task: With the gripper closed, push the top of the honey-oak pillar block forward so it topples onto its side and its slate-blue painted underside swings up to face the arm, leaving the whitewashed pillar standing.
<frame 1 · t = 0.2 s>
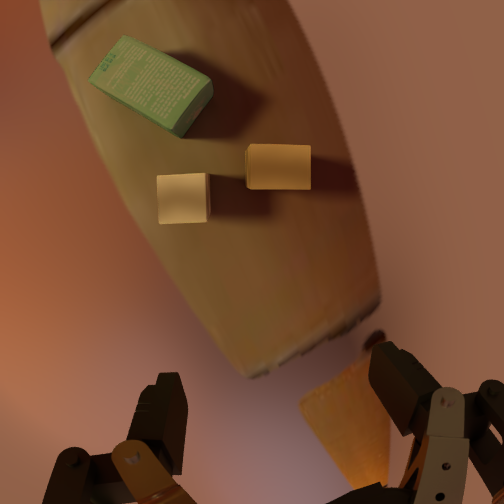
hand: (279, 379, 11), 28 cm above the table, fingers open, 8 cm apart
box: (159, 94, 33), on the table
oak pillar: (268, 169, 36), on the table
birch pillar: (190, 194, 36), on the table
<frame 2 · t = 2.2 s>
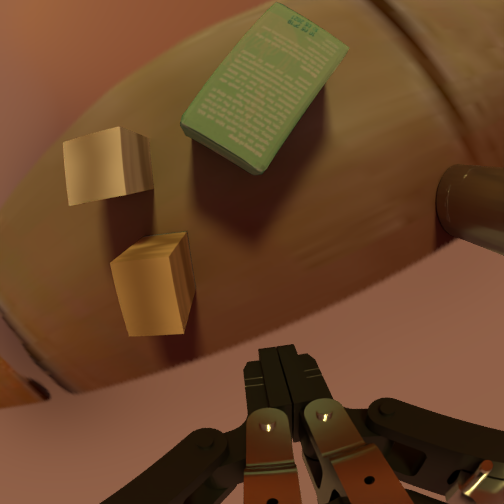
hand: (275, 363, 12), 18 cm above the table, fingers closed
box: (258, 101, 25), on the table
oak pillar: (169, 262, 28), on the table
birch pillar: (127, 167, 26), on the table
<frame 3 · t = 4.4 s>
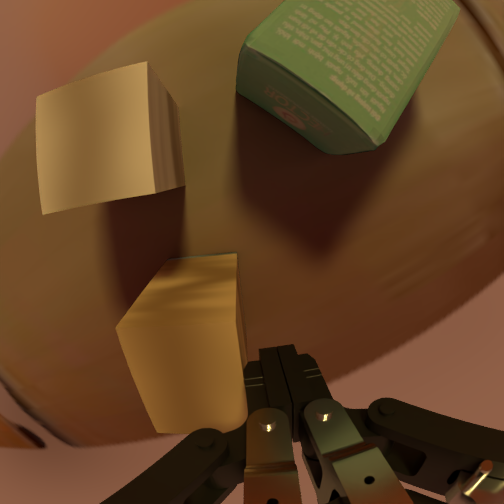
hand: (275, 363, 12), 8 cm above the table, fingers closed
box: (330, 58, 16), on the table
oak pillar: (208, 298, 19), on the table, touching gripper
birch pillar: (142, 152, 16), on the table
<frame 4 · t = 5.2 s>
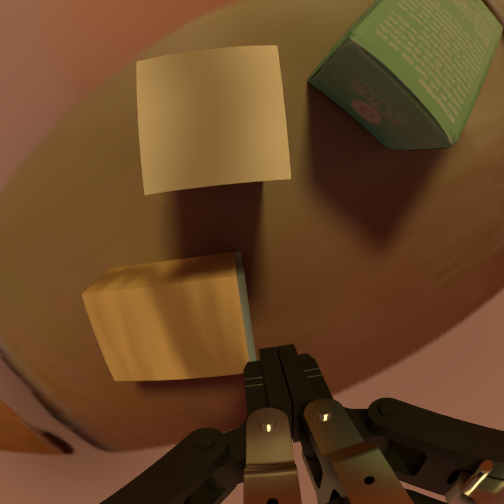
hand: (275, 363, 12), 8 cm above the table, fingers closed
box: (387, 60, 16), on the table
oak pillar: (248, 309, 17), point 2 cm above the table, tilted 90°
birch pillar: (218, 140, 16), on the table
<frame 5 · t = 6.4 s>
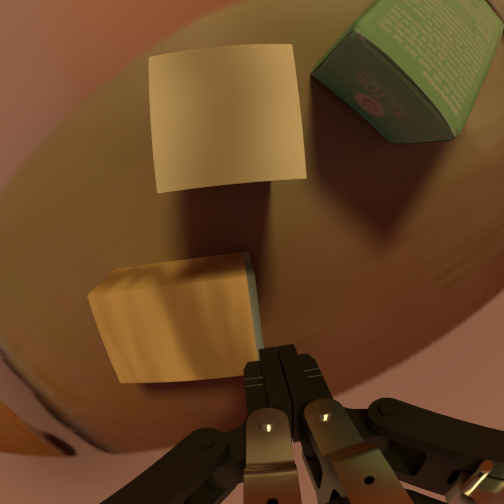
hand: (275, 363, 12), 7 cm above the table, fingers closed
box: (390, 55, 16), on the table
oak pillar: (257, 309, 17), point 2 cm above the table, tilted 90°
birch pillar: (225, 139, 16), on the table
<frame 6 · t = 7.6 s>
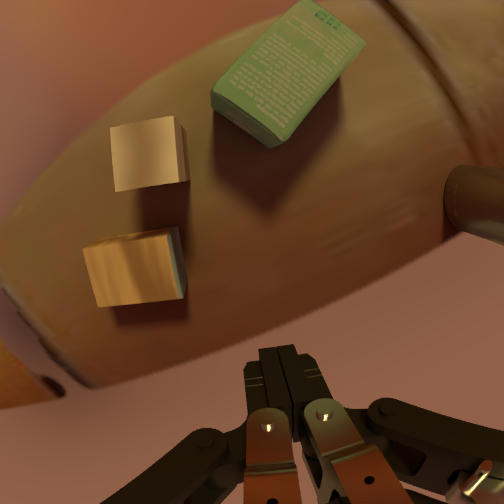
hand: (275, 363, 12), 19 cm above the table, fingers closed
box: (278, 84, 26), on the table
oak pillar: (180, 260, 27), point 2 cm above the table, tilted 90°
birch pillar: (163, 158, 27), on the table
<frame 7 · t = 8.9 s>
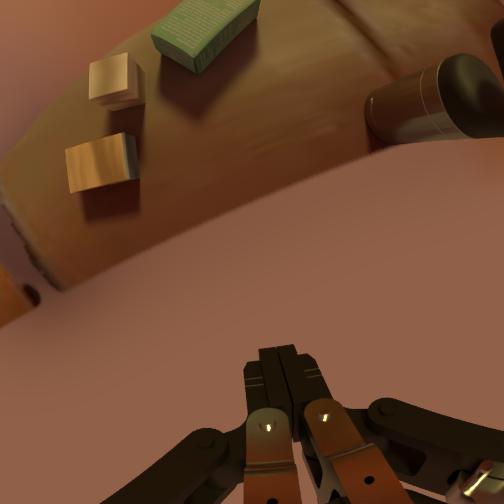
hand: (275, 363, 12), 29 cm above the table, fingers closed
box: (208, 34, 32), on the table
oak pillar: (132, 156, 34), point 2 cm above the table, tilted 90°
birch pillar: (128, 91, 33), on the table
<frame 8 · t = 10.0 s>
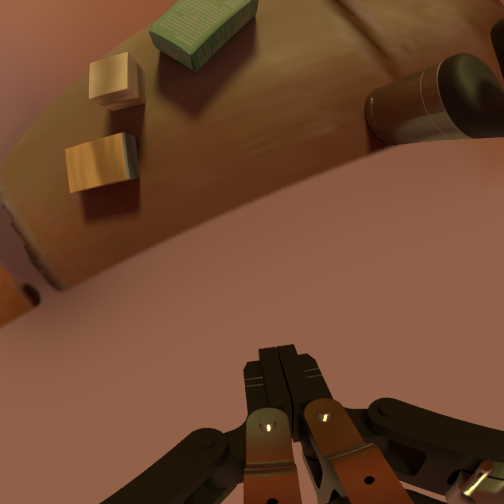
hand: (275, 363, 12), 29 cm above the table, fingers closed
box: (207, 32, 32), on the table
oak pillar: (132, 155, 34), point 2 cm above the table, tilted 90°
birch pillar: (128, 91, 33), on the table
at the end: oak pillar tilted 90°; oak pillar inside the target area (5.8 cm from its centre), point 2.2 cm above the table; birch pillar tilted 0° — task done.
